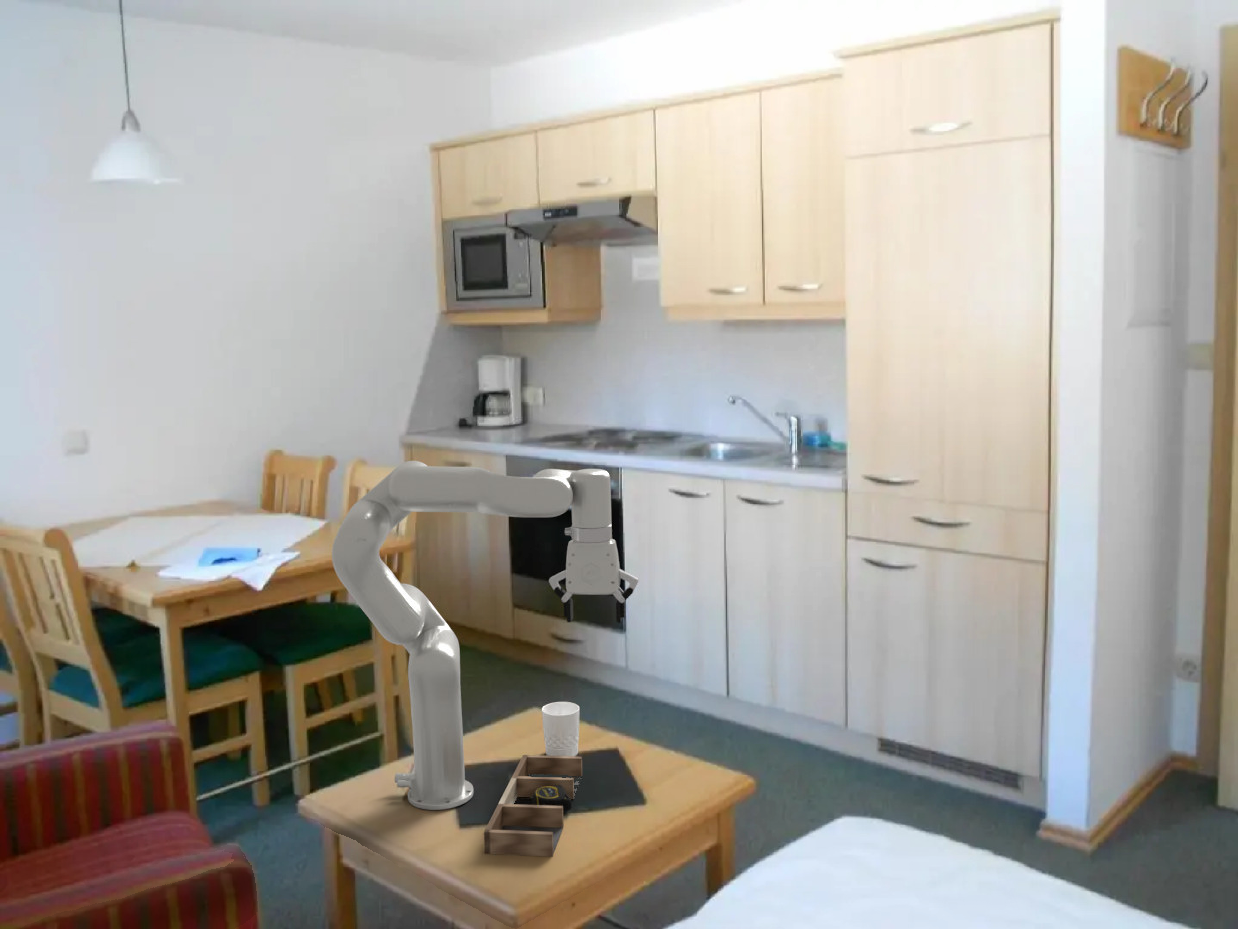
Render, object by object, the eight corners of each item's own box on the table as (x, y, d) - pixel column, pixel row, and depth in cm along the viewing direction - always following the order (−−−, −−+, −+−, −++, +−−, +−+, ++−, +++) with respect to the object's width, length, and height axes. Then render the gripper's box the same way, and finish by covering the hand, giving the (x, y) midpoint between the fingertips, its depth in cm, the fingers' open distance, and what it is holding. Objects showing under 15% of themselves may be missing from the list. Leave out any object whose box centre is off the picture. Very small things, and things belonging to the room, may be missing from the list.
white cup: (539, 749, 243) (537, 704, 241) (575, 744, 245) (573, 699, 244) (548, 763, 235) (546, 717, 234) (585, 758, 238) (583, 712, 236)
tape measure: (573, 816, 212) (572, 797, 212) (537, 821, 210) (536, 802, 210) (564, 800, 219) (564, 782, 218) (529, 805, 217) (528, 787, 216)
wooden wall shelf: (484, 853, 198) (483, 832, 198) (523, 773, 231) (523, 755, 230) (552, 856, 197) (551, 834, 196) (582, 775, 229) (581, 756, 229)
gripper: (543, 538, 215) (547, 626, 218) (634, 538, 213) (637, 627, 215) (551, 529, 222) (554, 614, 225) (639, 530, 220) (641, 615, 223)
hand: (594, 620), depth 220 cm, fingers open, 9 cm apart
